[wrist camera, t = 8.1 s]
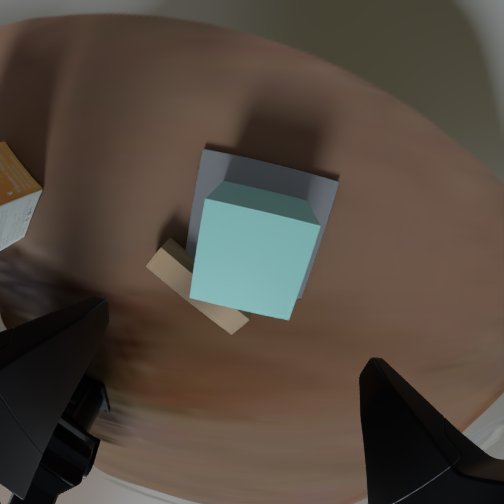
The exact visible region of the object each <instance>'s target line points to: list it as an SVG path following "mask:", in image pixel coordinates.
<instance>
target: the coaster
mask: <svg viewBox="0 0 504 504" xmlns="http://www.w3.org/2000/svg"><path fill="white" fill-rule="evenodd" d="M223 181H227V182H232V183H236V184H241V185H245V186H250V187H254V188H258V189H263V190H267V191H271V192H275V193H279V194H283V195H287V196H291V197H295V198H299V199H303V200H306V201H307V202H308V204H309V206H310V208H311V209H312V211H313V213H314V215H315V216H316V218H317V220H318V222H319V224H320V225H321V226H320V230H319V233H318V236H317V239H316V242H315V245H314V249H313V252H312V255H311V258H310V261H309V264H308V267H307V270H306V273H305V276H304V278H303V281H302V284H301V287H300V290H299V293H298V296H297V299H301V297H302V295H303V292H304V289H305V286H306V283H307V281H308V278H309V275H310V272H311V269H312V266H313V263H314V260H315V257H316V254H317V251H318V248H319V245H320V242H321V239H322V236H323V233H324V230H325V227H326V224H327V221H328V217H329V214H330V211H331V208H332V204H333V201H334V198H335V194H336V191H337V188H338V184H339V182H338V181H335V180H332V179H329V178H325V177H322V176H318V175H315V174H311V173H308V172H304V171H300V170H296V169H293V168H289V167H285V166H281V165H277V164H273V163H269V162H264V161H260V160H256V159H251V158H247V157H242V156H238V155H233V154H228V153H223V152H218V151H213V150H208V149H203V151H202V156H201V161H200V166H199V171H198V177H197V182H196V188H195V193H194V199H193V205H192V211H191V217H190V223H189V230H188V237H187V244H186V251H185V254H187V255H188V256H189V257H190V258H191V259H193V260H194V261H195V256H196V249H197V243H198V237H199V230H200V224H201V219H202V213H203V207H204V202H205V198H206V197H207V196H208V195H209V194H210V193H211V192H212V191H213V190H214V189H215V188H216V187H217V186H219V185H220V184H221V183H222V182H223Z"/></svg>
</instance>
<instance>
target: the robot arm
mask: <svg viewBox="0 0 504 504" xmlns="http://www.w3.org/2000/svg"><path fill="white" fill-rule="evenodd" d="M108 322H109V312H108V301H107V299H105V298H102V297H100V296H93V297H91V298H88V299H85V300H83V301H80V302H77V303H75V304H72V305H70V306H67V307H64V308H62V309H59V310H56V311H54V312H51V313H49V314H46V315H43V316H41V317H38V318H36V319H33V320H30V321H28V322H25V323H23V324H20V325H17V326H15V327H14V328H10V329H7V330H5V331H2V332H0V484H1V485H2V486H4V487H5V488H6V489H8V490H9V491H11V492H12V495H11V497H10V499H9V502H8V504H55V502H56V500H57V497H58V495H59V494H61V493H63V492H65V491H67V490H69V489H71V488H73V487H75V486H77V485H79V484H80V483H81V481H82V479H84V478H86V477H87V475H88V474H89V472H90V471H91V469H92V466H93V464H94V461H95V457H96V454H97V450H98V447H99V444H100V441H101V440H100V439H98V438H96V437H94V436H92V435H91V434H89V431H90V429H91V427H92V425H93V423H94V421H95V419H96V417H97V415H98V413H99V411H100V410H101V411H103V412H106V413H109V412H110V408H109V405H108V401H107V397H106V393H105V389H104V386H103V385H102V384H101V383H99V382H96V381H94V380H92V379H89V378H87V377H85V376H83V375H84V373H85V371H86V369H87V368H88V366H89V364H90V362H91V360H92V358H93V356H94V354H95V352H96V350H97V347H98V345H99V343H100V341H101V338H102V336H103V334H104V332H105V330H106V328H107V325H108ZM359 387H360V416H361V425H362V434H363V443H364V452H365V463H366V475H367V490H368V504H504V460H501V459H496V458H493V457H491V456H489V455H488V454H486V453H485V452H484V451H483V450H482V449H480V448H479V447H478V446H476V445H475V444H474V443H473V442H472V441H470V440H469V439H468V438H467V437H466V436H464V435H463V434H462V433H461V432H460V431H459V430H457V429H456V428H455V427H454V426H453V425H452V424H451V423H450V422H449V421H448V420H447V419H446V418H444V416H443V415H442V414H441V413H439V412H438V411H437V410H436V409H435V408H434V407H433V406H432V405H431V404H430V403H429V402H428V401H427V400H426V399H425V398H424V397H423V396H422V395H421V394H419V393H418V392H417V391H416V390H415V389H414V388H413V387H412V386H411V385H410V384H409V383H408V382H407V381H406V380H405V379H404V378H403V377H401V376H400V375H399V374H398V373H397V372H396V371H395V370H394V369H393V368H392V367H391V366H390V365H389V364H388V363H387V362H386V361H384V360H383V359H382V358H375V357H373V358H371V359H370V360H369V361H368V363H367V364H366V366H365V367H364V369H363V370H362V372H361V374H360V377H359ZM0 504H1V503H0Z"/></svg>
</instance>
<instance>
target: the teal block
mask: <svg viewBox="0 0 504 504" xmlns="http://www.w3.org/2000/svg"><path fill="white" fill-rule="evenodd" d="M320 226H321V225H320V224H319V222H318V220H317V218H316V216H315V215H314V213H313V211H312V209H311V208H310V206H309V204H308V202H307V201H306V200H303V199H299V198H295V197H291V196H287V195H283V194H279V193H275V192H271V191H267V190H263V189H258V188H254V187H250V186H245V185H241V184H236V183H232V182H227V181H223V182H222V183H221V184H220V185H219V186H217V187H216V188H215V189H214V190H213V191H212V192H211V193H210V194H209V195H208V196H207V197H206V198H205V202H204V207H203V213H202V219H201V224H200V230H199V237H198V243H197V249H196V256H195V262H194V269H193V276H192V283H191V290H190V298H192V299H196V300H200V301H204V302H208V303H212V304H216V305H221V306H225V307H229V308H234V309H238V310H243V311H247V312H252V313H256V314H261V315H266V316H271V317H276V318H281V319H286V320H289V318H290V315H291V312H292V310H293V307H294V304H295V301H296V299H297V296H298V293H299V290H300V287H301V284H302V281H303V278H304V276H305V273H306V270H307V267H308V264H309V261H310V258H311V255H312V252H313V249H314V245H315V242H316V239H317V236H318V233H319V230H320Z"/></svg>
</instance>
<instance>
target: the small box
mask: <svg viewBox="0 0 504 504" xmlns="http://www.w3.org/2000/svg"><path fill="white" fill-rule="evenodd" d="M42 190H43V189H42V187H41V186H40V185H39V184H38V183H37V182H36V181H35V180H34V179H33V177H32V176H31V175H30V174H29V173H28V171H27V170H26V169H25V168H24V167H23V165H22V164H21V163H20V161H19V160H18V159H17V157H16V156H15V155H14V154H13V152H12V151H11V149H10V148H9V147H8V145H7V144H6V142H0V251H1V250H3V249H4V248H6V247H8V246H9V245H11V244H13V243H14V242H16V241H18V240H20V239H21V238H23V237H24V236H25V234H26V231H27V229H28V226H29V223H30V220H31V218H32V215H33V212H34V210H35V207H36V205H37V202H38V200H39V197H40V195H41V192H42Z"/></svg>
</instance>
